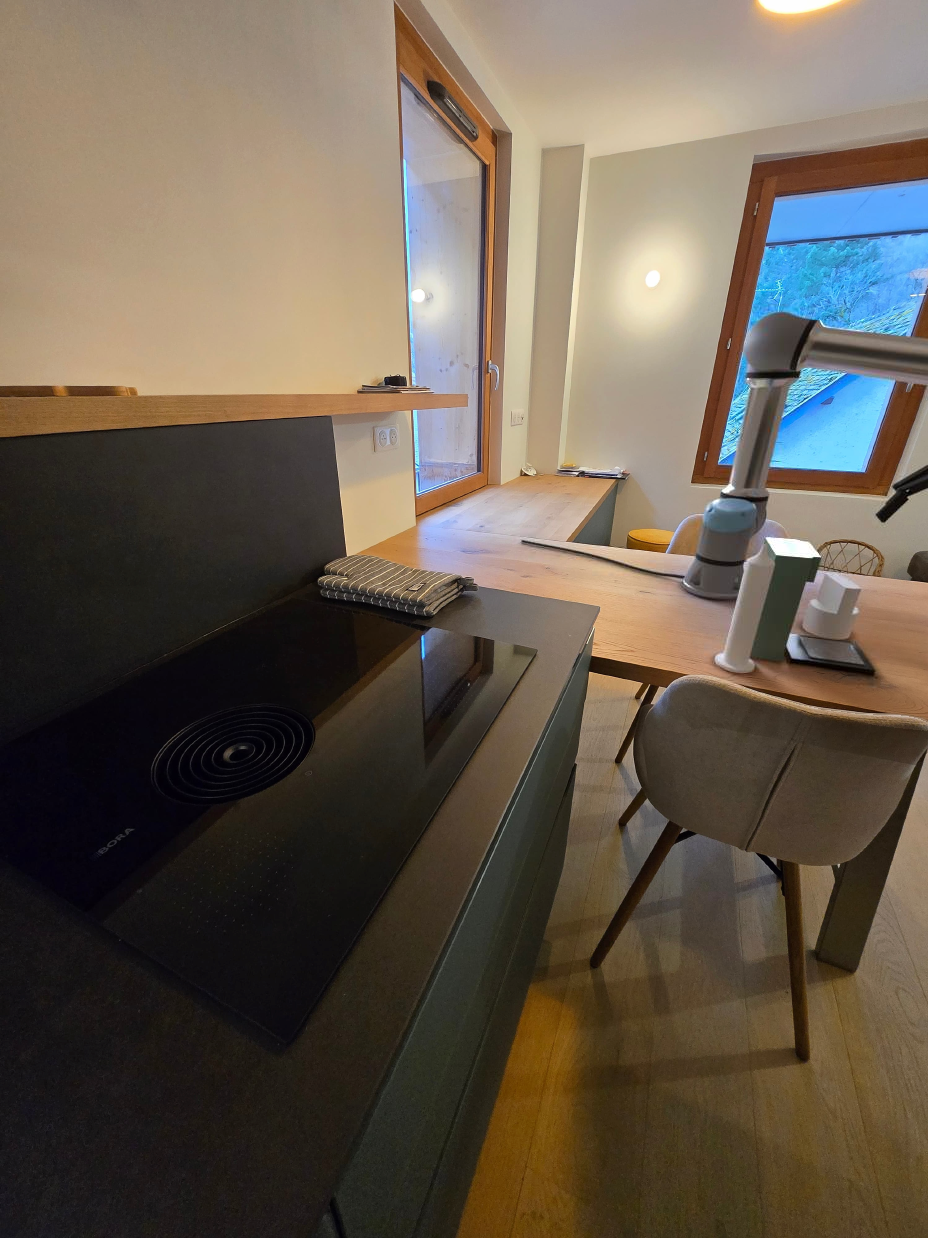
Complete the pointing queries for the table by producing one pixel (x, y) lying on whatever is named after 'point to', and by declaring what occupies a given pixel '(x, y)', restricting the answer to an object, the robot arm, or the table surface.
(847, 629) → the base with upright slab
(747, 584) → the candle
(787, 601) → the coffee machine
